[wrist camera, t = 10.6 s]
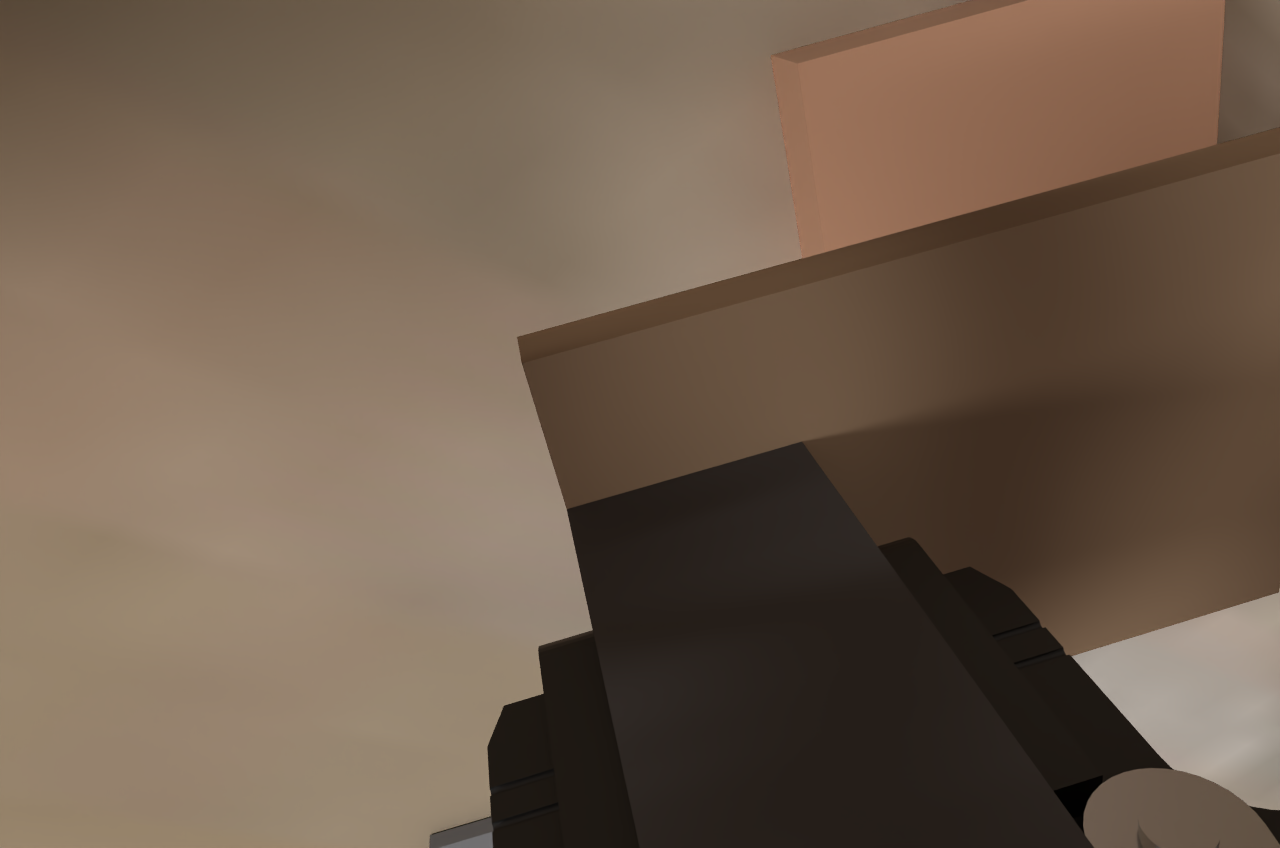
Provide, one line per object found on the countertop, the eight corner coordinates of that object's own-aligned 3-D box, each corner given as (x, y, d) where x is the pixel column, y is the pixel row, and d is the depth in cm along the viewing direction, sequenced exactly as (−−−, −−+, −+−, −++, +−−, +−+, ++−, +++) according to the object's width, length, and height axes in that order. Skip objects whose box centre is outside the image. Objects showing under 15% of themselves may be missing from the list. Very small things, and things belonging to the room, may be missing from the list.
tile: (844, 386, 24) (1209, 280, 24) (797, 63, 20) (1228, -55, 21) (812, 350, 26) (1147, 253, 27) (765, 53, 23) (1155, -54, 23)
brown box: (641, 745, 14) (779, 1303, 9) (517, 337, 11) (600, 786, 5) (1239, 562, 15) (1758, 964, 9) (1292, 123, 12) (2165, 306, 6)
